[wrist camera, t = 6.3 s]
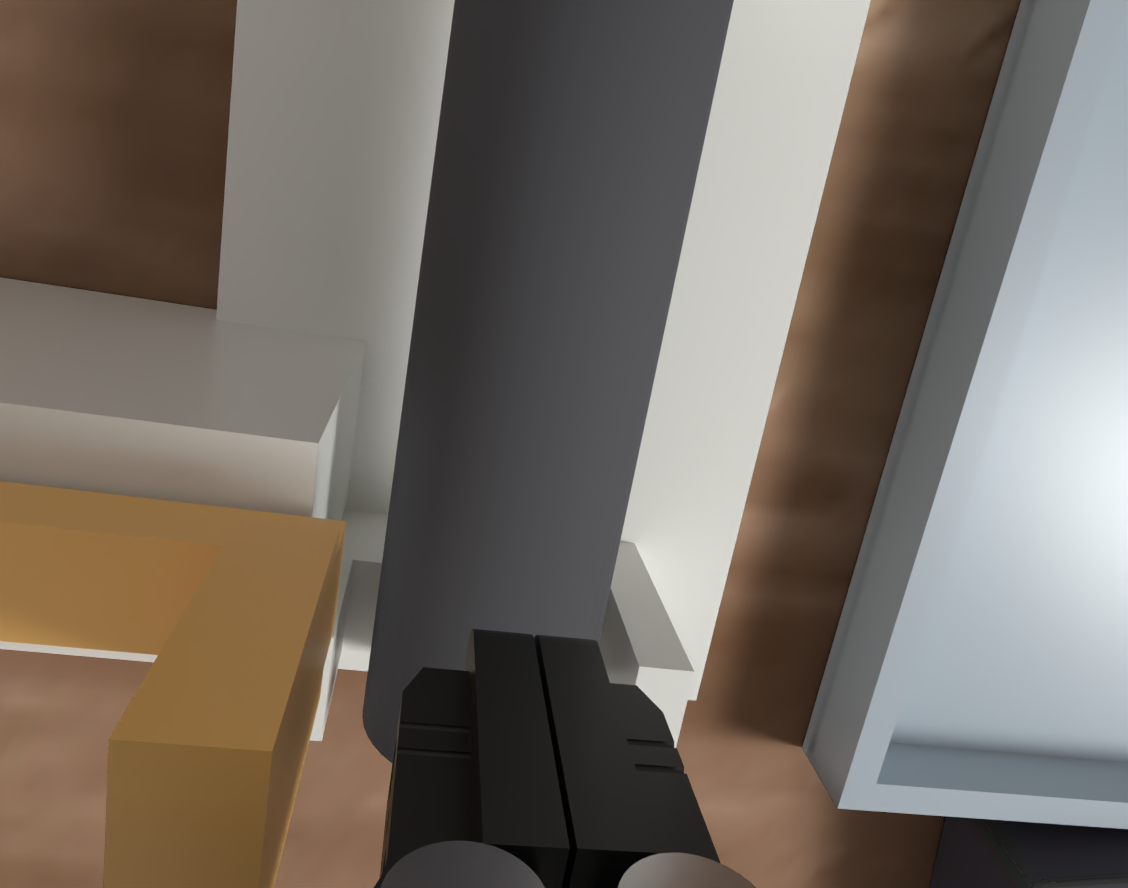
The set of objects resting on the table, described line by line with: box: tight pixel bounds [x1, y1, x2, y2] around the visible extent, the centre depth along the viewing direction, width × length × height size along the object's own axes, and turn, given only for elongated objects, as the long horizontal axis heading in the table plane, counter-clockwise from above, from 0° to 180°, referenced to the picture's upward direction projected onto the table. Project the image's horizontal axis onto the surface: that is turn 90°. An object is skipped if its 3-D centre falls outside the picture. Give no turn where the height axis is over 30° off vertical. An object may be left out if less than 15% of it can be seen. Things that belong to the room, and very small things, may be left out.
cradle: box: [0, 0, 871, 748], centre depth 15 cm, size 20×17×8 cm
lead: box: [363, 0, 734, 763], centre depth 14 cm, size 16×4×4 cm, turn 170°
